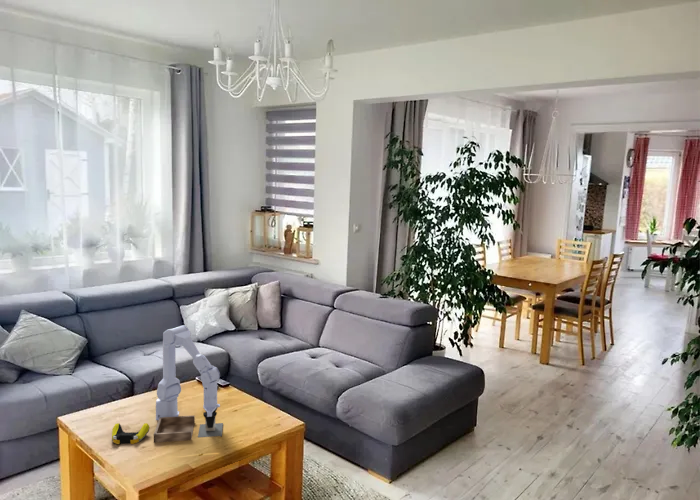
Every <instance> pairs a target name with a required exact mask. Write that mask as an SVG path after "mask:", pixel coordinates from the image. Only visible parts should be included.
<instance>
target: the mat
mask: <svg viewBox="0 0 700 500" xmlns="http://www.w3.org/2000/svg"><path fill="white" fill-rule="evenodd" d="M223 426H224V422H218V423H216V422H215V431H206V430H205V423H202V424H199V428H198V433H197V434H198V435H197V438H208V437H209V438H210V437H211V438H212V437H220V438H222V436H223V430H224V429H223Z"/></svg>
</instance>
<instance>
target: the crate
mask: <svg viewBox="0 0 700 500" xmlns="http://www.w3.org/2000/svg"><path fill="white" fill-rule="evenodd" d="M195 417H196V416H195V415H193V414H192V415H180V416H179V415H178V416H176V417H160V418H159V420H157V424H156V425H155V426H156V427H155V429H154V431H153V443H166V442H167V443H168V442H169V443H170V442H182V441H183V442H184V441H192V437H193V433H194V428H195V425H196V424H195V422H196V421H195V420H196V419H195Z"/></svg>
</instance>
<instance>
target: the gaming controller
mask: <svg viewBox="0 0 700 500" xmlns="http://www.w3.org/2000/svg"><path fill="white" fill-rule="evenodd" d="M149 432H150V425H149V423H147V422H146V423H144V424H142V426H141V428H140V429H139V431H135V432H128V431H127V432H125V431H124V430H123V428H122V425H121V424H120V423H115V424H114V426H113V427H112V431H111V441H112V443H113V444H116V445H122V444H125V445H126V444H127V445H129V444H131V445H134V444H137V443H138V444H139V443H140V442H141V441H142V440H143V439H144V438H145V437H146V436H147V435H148V433H149Z"/></svg>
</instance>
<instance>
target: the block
mask: <svg viewBox="0 0 700 500" xmlns="http://www.w3.org/2000/svg"><path fill="white" fill-rule="evenodd" d="M204 419H205V418H204ZM204 421H205V423H204V424H205V430H206V431H215V423H216V418H215V419H214V424H213V428H208V427H207V422H206V419H205V420H204Z"/></svg>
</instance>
